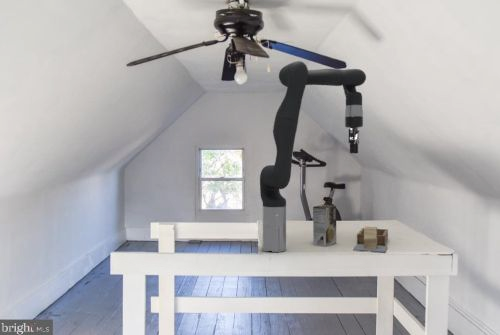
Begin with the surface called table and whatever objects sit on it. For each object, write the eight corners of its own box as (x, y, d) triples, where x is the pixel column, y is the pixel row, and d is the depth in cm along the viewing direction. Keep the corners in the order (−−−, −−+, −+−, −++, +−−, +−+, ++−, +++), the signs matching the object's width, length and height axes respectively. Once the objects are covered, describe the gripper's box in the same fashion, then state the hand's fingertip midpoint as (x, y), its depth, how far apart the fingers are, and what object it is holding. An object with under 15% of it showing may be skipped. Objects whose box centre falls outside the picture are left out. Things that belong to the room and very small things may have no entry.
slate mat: (385, 253, 163) (385, 251, 163) (353, 250, 168) (353, 249, 168) (387, 247, 173) (387, 246, 173) (356, 245, 178) (356, 244, 178)
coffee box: (323, 241, 187) (323, 204, 186) (336, 243, 183) (336, 205, 182) (312, 244, 180) (312, 206, 179) (326, 246, 176) (326, 207, 175)
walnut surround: (384, 247, 174) (384, 236, 174) (357, 245, 178) (357, 234, 178) (387, 239, 191) (387, 229, 191) (362, 238, 195) (362, 228, 195)
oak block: (375, 249, 168) (376, 228, 167) (364, 248, 169) (364, 227, 169) (377, 246, 172) (377, 226, 172) (365, 246, 173) (365, 226, 173)
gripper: (347, 118, 196) (347, 153, 197) (342, 115, 183) (342, 153, 184) (364, 117, 194) (364, 153, 194) (360, 114, 180) (360, 153, 181)
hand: (354, 153), depth 189 cm, fingers open, 8 cm apart
